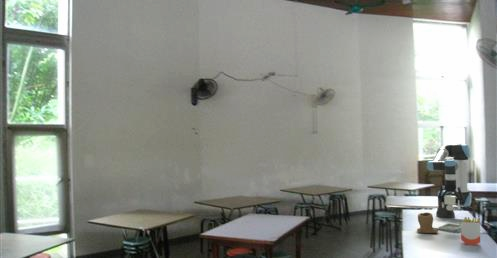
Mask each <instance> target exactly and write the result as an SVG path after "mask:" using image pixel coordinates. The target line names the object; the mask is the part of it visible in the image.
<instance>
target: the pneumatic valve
mask: <svg viewBox="0 0 497 258" xmlns="http://www.w3.org/2000/svg"><path fill="white" fill-rule="evenodd" d="M458 200H459V199H458V198H457V196H451V195H449V196H447V195H444V197H442V202H443V203H444V204H448V206H446V209H447V210H451V211H452V210H453V211H454V210H455V206H457V203H458ZM451 205H452V206H451Z"/></svg>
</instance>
